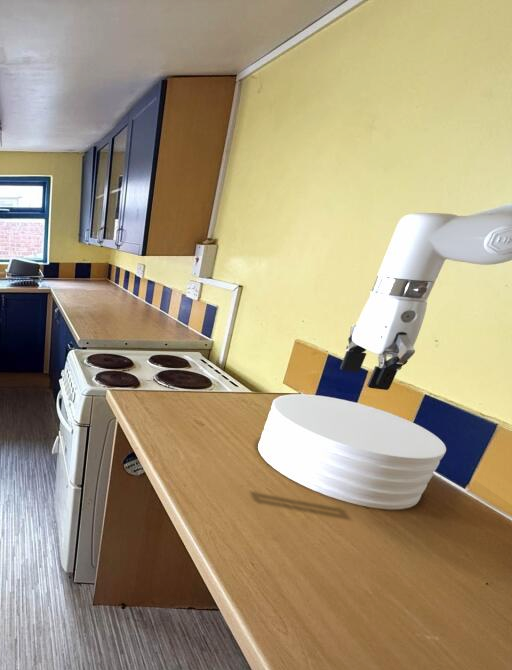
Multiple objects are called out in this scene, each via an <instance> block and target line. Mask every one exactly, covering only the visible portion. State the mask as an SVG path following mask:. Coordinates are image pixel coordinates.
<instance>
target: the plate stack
mask: <svg viewBox="0 0 512 670" xmlns="http://www.w3.org/2000/svg"><path fill="white" fill-rule="evenodd" d="M257 448H258V452H259V453H260V456H261V457H262V458H263V459H264V461H265V462H266V463H267V464H269V465H270V467H272V468H273V469H274V470H276V472H279V473H280V474H281V475H283V476H285V477H287V478H288V479H290V480H292V481H293V482H296V483H297V484H299V485H301V486H304V487H306V488H308V489H310V490H312V491H314V492H317V493H319V494H322V495H325V496H327V497H330V498H334V499H337V500H340V501H343V502H346V503H350V504H354V505H358V506H363V507H367V508H373V509H380V510H381V509H382V510H404V509H409V508H412V507H414V506H416V505H417V504H418V503H419V501H420V500H421V498H422V495H423V493H424V492H425V490H426V489H427V486H428V483H429V482H430V481H431V479H432V478H433V476H434V472H436V470H437V469H438V467H439V465H440V463H441V460H442V459H443V458H444V456H445V454H446V452H447V447H446V444H445V443H444V442H443V441H442V439H440V438H439V437H438V436H437V435H435V434H434V433H433V432H431V431H430V430H428V429H426V428H425V427H423V426H421V425H419V424H417V423H414V422H413V421H411V420H408V419H406V418H404V417H401V416H399V415H396V414H395V413H394V414H393V413H391V412H388V411H385V410H382V409H379V408H376V407H373V406H369V405H366V404H364V403H363V404H362V403H358V402H355V401H350V400H346V399H341V398H337V397H331V396H325V395H316V394H308V393H307V394H305V393H291V394H283V395H280V396H278V397H275V398H274V400H273V401H272V404H271V409H270V410H269V412H268V416H267V420H266V421H265V424H264V429H263V430H262V433H261V437H260V439H259V442H258V446H257Z"/></svg>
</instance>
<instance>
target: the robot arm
mask: <svg viewBox="0 0 512 670" xmlns="http://www.w3.org/2000/svg"><path fill="white" fill-rule="evenodd" d="M446 260H449V261H452V262H459V263H467V264H472V265H480V266H481V265H482V266H484V265H485V266H490V265H498V264H499V265H500V264H503V263H507V262H510V261H512V202H509V203H506V204H502V205H498V206H495V207H492V208H489V209H485V210H482V211H479V212H476V213H471V214H468V215H457V214H454V213H441V212H440V213H439V212H414V213H408V214H406V215H404V216H403V217H401V219H400V220H399V221H398V223H397V225H396V227H395V230H394V233H393V235H392V237H391V240H390V243H389V246H388V248H387V250H386V253H385V255H384V258H383V260H382V263H381V265H380V268H379V270H378V272H377V276H376V278H375V280H374V283H373V285H372V287H371V290H370V292H369V294H370V296H369V298H368V299H367V302H366V303H365V305H364V307H363V310H362V311H361V313H360V316H359V318H358V320H357V322H356V324H354V325H352V326H350V332H349V336H348V338H347V341H348V344H347V346H346V349H345V350H346V351H345V354H344V357H343V359H342V361H341V364H340V366H339V370H341V371H344V372H351V373H359V372H360V370H361V368H362V366H363V363H364V361H365V358H366V356H367V353H366V351H368V352H370V353H373V354H375V355H377V360H378V366H376V365H375V366H374V368H373V370H372V373H371V374H370V377H369V379H368V382H367V384H366V386H367V387H368V389H374V390H375V389H376V390H384V391H388V390H390V388H391V387H392V384H393V381H394V379H395V377H396V375H397V372H398V371H400V370H401V369H402V368H403V366H404V365H406V364H407V363H408V361H409V360H410V358H412V357H413V356H414V354H415V353H416V349H415V348H414V346H415V344H416V341H417V339H418V337H419V334H420V331H421V329H422V325H423V323H424V319H425V315H426V311H427V307H428V299H429V296H430V294H431V292H432V290H433V288H434V285H435V283H436V281H437V279H438V276H439V274H440V272H441V270H442V268H443V265H444V264H445V261H446ZM387 357H388V359H387Z"/></svg>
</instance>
